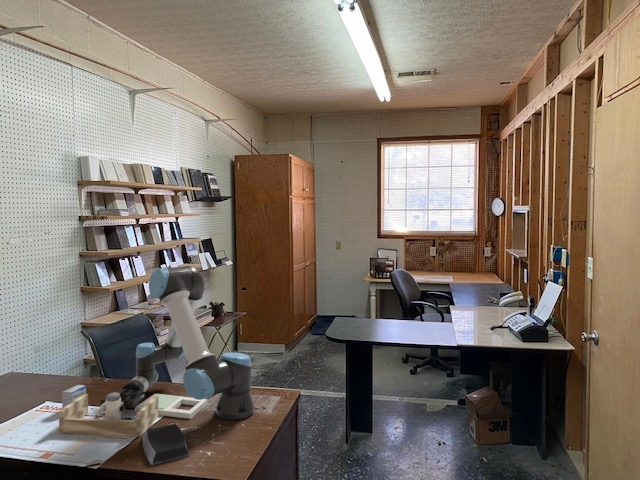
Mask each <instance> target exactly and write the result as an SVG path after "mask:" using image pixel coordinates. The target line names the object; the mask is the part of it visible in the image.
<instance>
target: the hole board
mask: <svg viewBox="0 0 640 480" xmlns="http://www.w3.org/2000/svg"><path fill="white" fill-rule="evenodd" d="M154 396H158V416H163V417H164V416H165V417H171V418H173V417H174V418H179V419H190V420H192V419H193V418H194V417H195V416H196V415H197V414H199V412H201V411H202V408H203V409H204V408H205V407H206V406H207V405H208V404H209V402H208V399H209V398H205V399H201V400H197V399H195V398H192V397H191V396H190V397H187V396H182V395H181V396H179V395H171V394H170V395H169V394H161V393H154V394H153V395H151V396H149V397H148V398H147V399H144V400H143V401H142V402H139V403H138V404H136V405H135V406H134V413H138V412H139V411H140V410H141V409H142V408H143V407H144V406H145V405H146V404H147V403H148V402H149V401H150V400H151V399H152V398H153V397H154ZM182 405H188V406H193V407H192V408H191V409H181V408H179V407H180V406H182Z"/></svg>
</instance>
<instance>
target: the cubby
mask: <svg viewBox="0 0 640 480" xmlns="http://www.w3.org/2000/svg"><path fill="white" fill-rule="evenodd" d="M87 414H88V415H89V393H86V394H83V395H82V396H80V397H79V398H78V399H76V400H75V401H73V402H72V403H70V404H69V405H67V406H66V407H64V408H63V409H62V408H61V409H60V410H58V434H59V433H69V434H68V435H86V434H93V435H94V436H114V437H115V436H116V437H142V436H143V435H144V433H145V431H146V429H150V427H151V425H152V424H154V422H155V421H156V420H157V419H158V418H159V415H158V396H154V397H153V398H152V399H151V400H150V401H149V402H148V403H147V404H146V405H145V406H144V407H143V408H142V409H141V410H140V411H139V412H136V417H135V418H136V419H121V420H114V419H106V418H86V416H85V415H87ZM88 415H87V416H88ZM84 416H85V417H84ZM82 417H84V418H82ZM93 435H92V436H93Z"/></svg>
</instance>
